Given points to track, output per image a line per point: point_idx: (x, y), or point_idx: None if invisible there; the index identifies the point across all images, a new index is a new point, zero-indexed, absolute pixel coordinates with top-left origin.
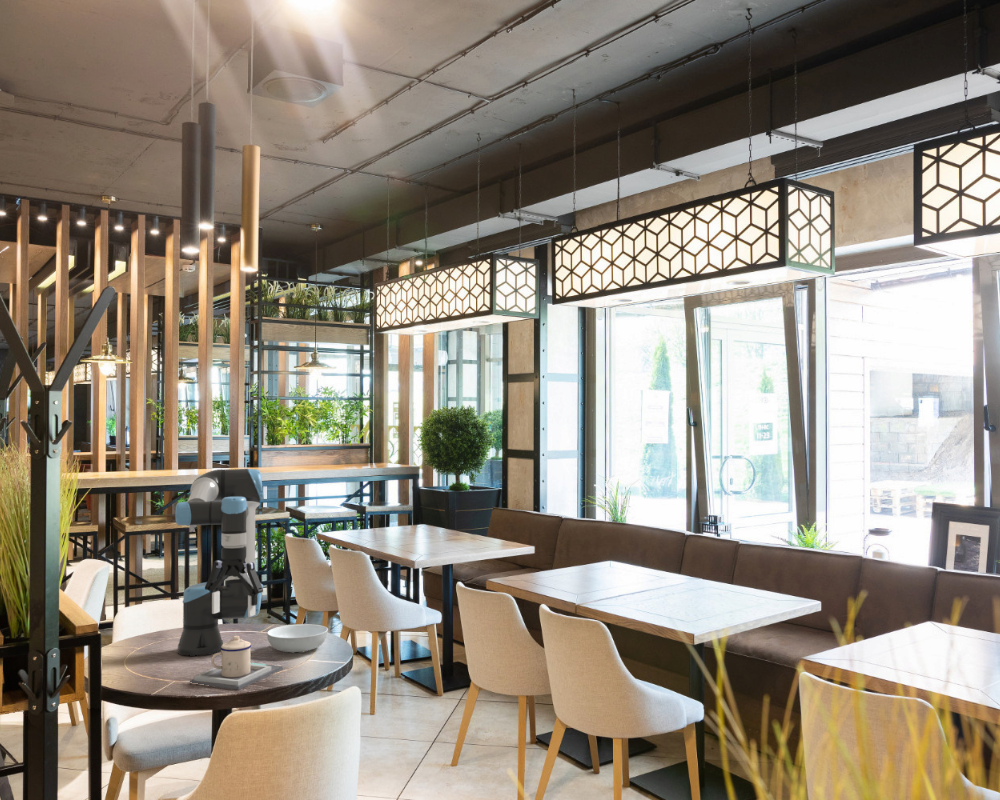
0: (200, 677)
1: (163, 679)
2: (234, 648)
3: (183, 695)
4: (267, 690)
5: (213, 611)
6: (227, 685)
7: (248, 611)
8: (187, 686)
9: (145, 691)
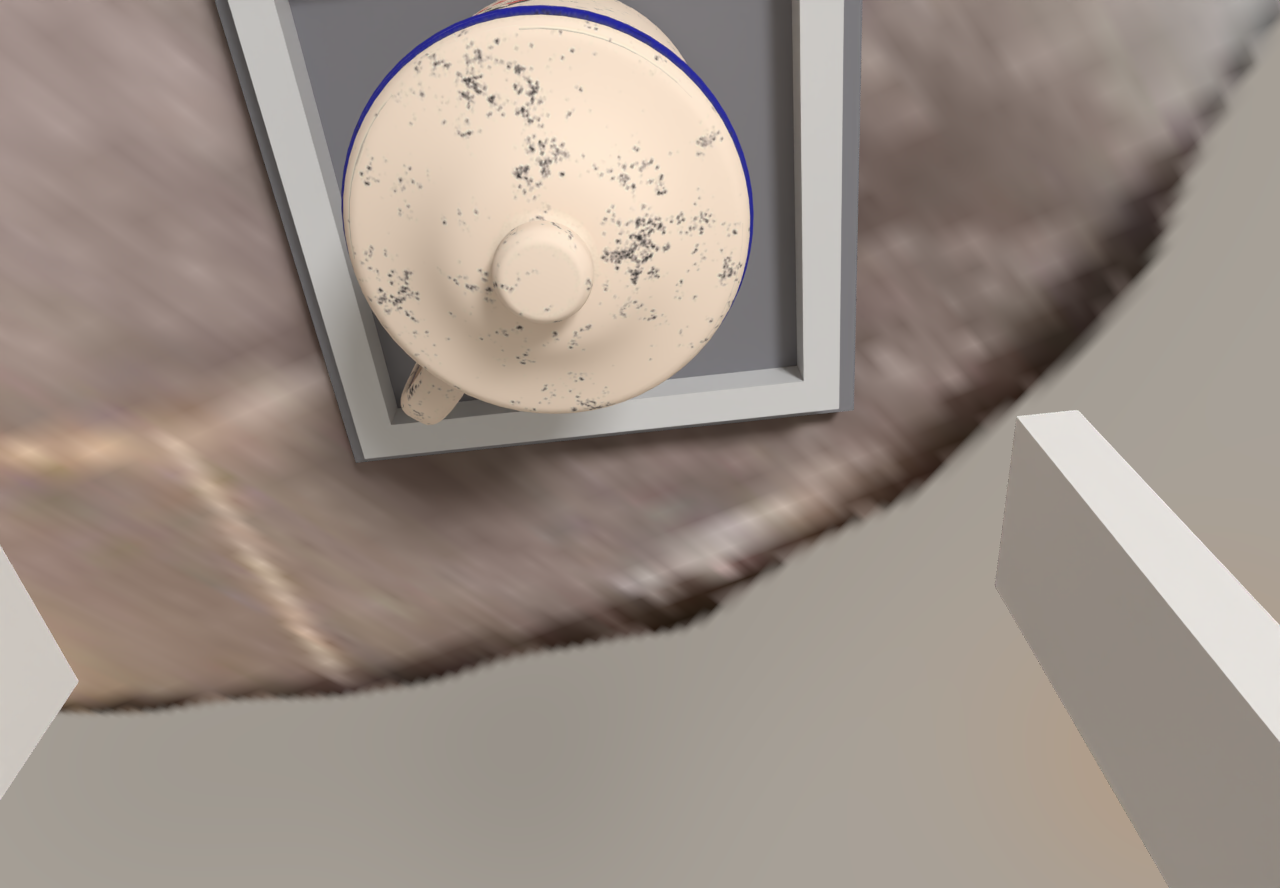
0: (436, 448)
1: (52, 451)
2: (665, 378)
3: (551, 620)
4: (1086, 308)
5: (43, 722)
6: (739, 420)
7: (1056, 669)
8: (398, 491)
9: (242, 664)
